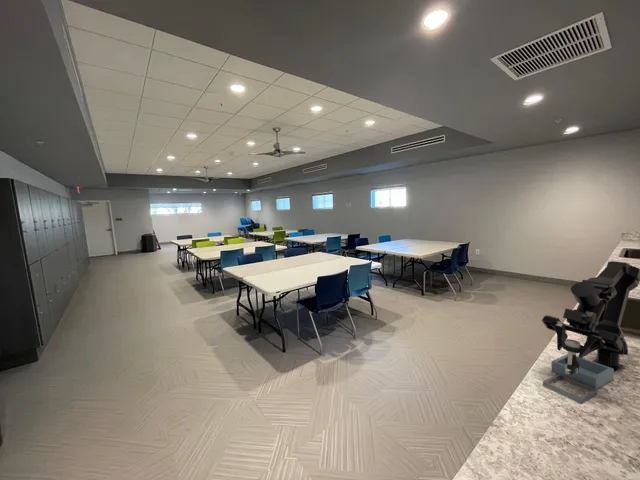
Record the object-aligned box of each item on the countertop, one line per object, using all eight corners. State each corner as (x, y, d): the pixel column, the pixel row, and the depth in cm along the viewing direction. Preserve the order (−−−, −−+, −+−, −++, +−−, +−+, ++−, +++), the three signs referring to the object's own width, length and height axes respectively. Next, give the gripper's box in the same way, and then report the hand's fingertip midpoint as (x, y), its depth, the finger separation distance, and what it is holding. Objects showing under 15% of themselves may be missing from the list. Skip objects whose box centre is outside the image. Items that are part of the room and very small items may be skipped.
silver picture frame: (559, 377, 94) (559, 373, 94) (597, 393, 85) (597, 389, 85) (542, 385, 90) (542, 381, 90) (581, 404, 81) (581, 399, 81)
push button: (577, 379, 83) (578, 348, 82) (555, 371, 88) (556, 342, 87) (585, 372, 86) (587, 342, 85) (564, 364, 91) (565, 336, 90)
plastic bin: (568, 363, 102) (569, 353, 102) (613, 380, 91) (613, 368, 91) (551, 371, 97) (551, 361, 97) (595, 390, 87) (596, 378, 86)
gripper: (545, 292, 95) (526, 329, 92) (620, 308, 78) (600, 354, 75) (557, 310, 99) (538, 346, 95) (631, 328, 82) (612, 373, 78)
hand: (568, 353), depth 86 cm, fingers closed on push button, 5 cm apart
